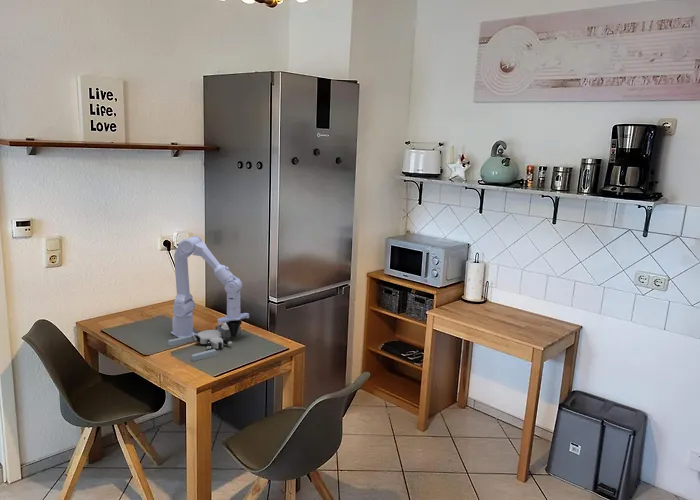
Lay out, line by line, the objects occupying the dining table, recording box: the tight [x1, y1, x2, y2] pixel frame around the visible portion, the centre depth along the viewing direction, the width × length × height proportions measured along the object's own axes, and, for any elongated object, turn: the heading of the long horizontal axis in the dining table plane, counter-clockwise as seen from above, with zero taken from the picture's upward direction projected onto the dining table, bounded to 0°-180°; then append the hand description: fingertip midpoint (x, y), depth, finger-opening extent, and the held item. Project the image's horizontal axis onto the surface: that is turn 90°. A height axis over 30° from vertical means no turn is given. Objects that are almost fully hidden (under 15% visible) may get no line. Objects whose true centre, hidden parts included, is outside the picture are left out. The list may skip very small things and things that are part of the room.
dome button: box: [221, 323, 229, 330], centre depth 240 cm, size 6×6×5 cm
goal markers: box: [167, 335, 218, 362], centre depth 220 cm, size 22×10×2 cm, turn 44°
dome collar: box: [215, 323, 242, 339], centre depth 240 cm, size 8×8×3 cm
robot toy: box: [192, 329, 233, 350], centre depth 226 cm, size 12×4×15 cm
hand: (233, 336), depth 233 cm, fingers closed
